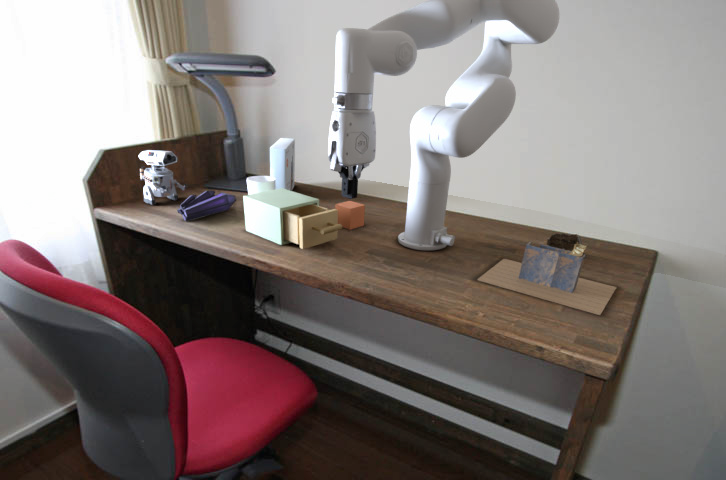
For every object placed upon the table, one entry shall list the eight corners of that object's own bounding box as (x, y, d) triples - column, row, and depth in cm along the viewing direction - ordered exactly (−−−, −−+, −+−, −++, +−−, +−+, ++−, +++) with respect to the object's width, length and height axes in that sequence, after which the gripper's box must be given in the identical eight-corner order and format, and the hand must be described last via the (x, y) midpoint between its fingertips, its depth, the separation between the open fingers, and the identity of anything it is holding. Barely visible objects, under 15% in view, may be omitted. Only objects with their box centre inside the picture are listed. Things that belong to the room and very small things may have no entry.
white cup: (244, 216, 134) (241, 180, 128) (256, 209, 140) (253, 174, 135) (270, 219, 132) (268, 183, 127) (281, 212, 139) (279, 177, 134)
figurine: (163, 209, 136) (154, 155, 129) (141, 201, 142) (131, 149, 135) (190, 203, 143) (183, 151, 135) (168, 196, 149) (160, 145, 141)
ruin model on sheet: (616, 287, 101) (632, 243, 96) (600, 315, 89) (616, 267, 84) (504, 258, 113) (512, 218, 108) (476, 279, 101) (484, 236, 96)
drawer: (349, 243, 116) (350, 213, 112) (315, 254, 108) (315, 223, 104) (301, 225, 126) (300, 198, 122) (267, 234, 118) (265, 205, 115)
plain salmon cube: (364, 225, 131) (365, 205, 128) (349, 229, 127) (350, 208, 124) (349, 220, 134) (349, 200, 131) (335, 224, 130) (335, 204, 128)
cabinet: (319, 234, 123) (319, 199, 118) (281, 245, 115) (279, 208, 110) (283, 221, 131) (282, 188, 127) (245, 230, 123) (242, 195, 119)
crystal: (190, 202, 122) (246, 182, 135) (163, 199, 128) (219, 180, 141) (197, 229, 125) (251, 207, 139) (171, 224, 131) (224, 203, 145)
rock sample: (602, 238, 116) (584, 217, 112) (593, 264, 114) (575, 243, 110) (563, 244, 125) (545, 224, 120) (554, 268, 123) (536, 249, 119)
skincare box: (287, 201, 149) (285, 148, 140) (270, 201, 149) (267, 147, 140) (296, 185, 167) (295, 137, 159) (280, 185, 167) (278, 137, 159)
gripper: (340, 105, 86) (337, 206, 95) (392, 104, 95) (384, 195, 105) (312, 102, 90) (311, 198, 99) (364, 100, 100) (359, 189, 109)
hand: (349, 197), depth 102 cm, fingers closed
